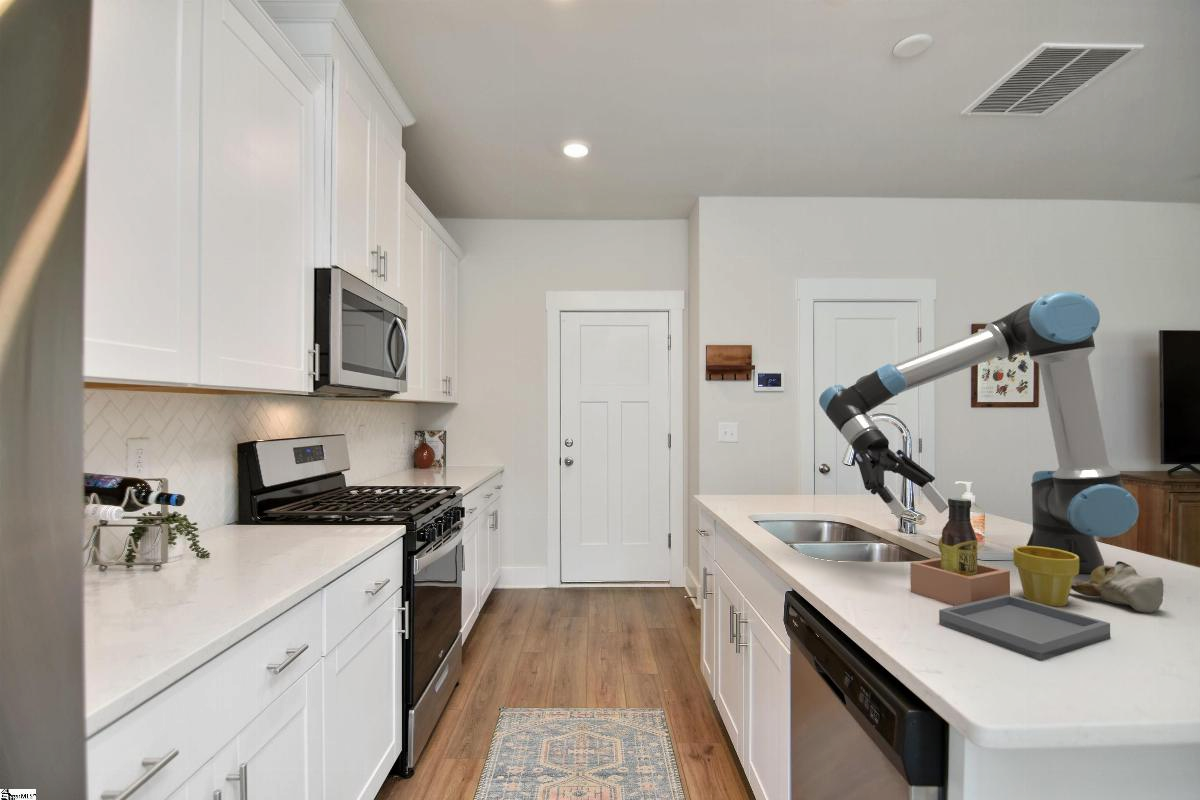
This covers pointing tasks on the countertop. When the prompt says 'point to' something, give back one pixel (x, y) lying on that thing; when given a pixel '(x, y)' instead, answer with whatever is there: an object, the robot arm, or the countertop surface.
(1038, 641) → the grey tray
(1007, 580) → the terracotta holder
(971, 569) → the sauce bottle
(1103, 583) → the ceramic sculpture
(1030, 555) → the plant pot
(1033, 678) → the countertop surface
